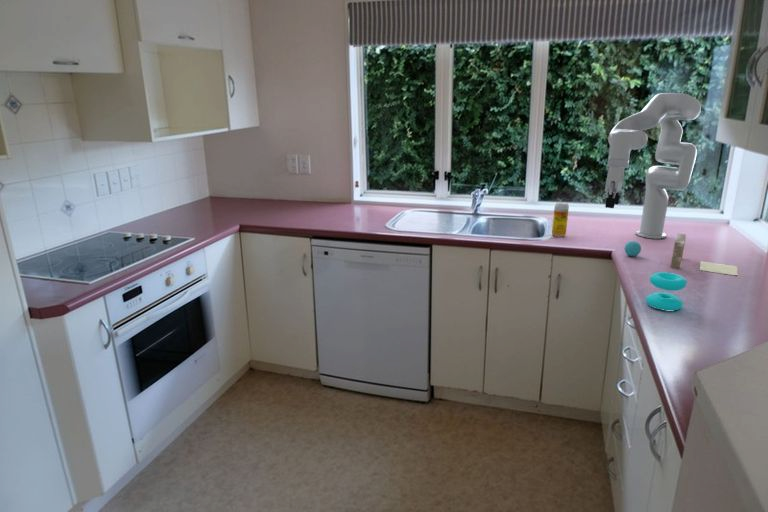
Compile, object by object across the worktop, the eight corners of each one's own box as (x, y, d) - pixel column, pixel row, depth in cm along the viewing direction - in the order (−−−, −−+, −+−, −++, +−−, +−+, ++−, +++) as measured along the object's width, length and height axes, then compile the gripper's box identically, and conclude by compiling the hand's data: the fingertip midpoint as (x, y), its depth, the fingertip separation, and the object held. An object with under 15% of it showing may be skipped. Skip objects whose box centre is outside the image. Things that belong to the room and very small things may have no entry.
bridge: (670, 267, 201) (674, 242, 198) (673, 256, 213) (677, 233, 210) (679, 268, 199) (683, 243, 196) (682, 257, 212) (686, 234, 209)
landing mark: (700, 261, 207) (700, 261, 207) (737, 266, 201) (737, 266, 201) (699, 270, 197) (699, 269, 197) (737, 276, 191) (737, 275, 191)
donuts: (680, 271, 166) (692, 283, 156) (675, 301, 169) (686, 314, 159) (646, 270, 167) (656, 280, 158) (641, 299, 170) (651, 311, 161)
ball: (624, 252, 218) (626, 238, 216) (640, 255, 215) (643, 240, 213) (622, 256, 213) (624, 242, 211) (638, 259, 210) (641, 244, 208)
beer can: (556, 237, 240) (560, 205, 235) (549, 234, 246) (552, 202, 241) (568, 236, 242) (571, 204, 237) (560, 233, 247) (564, 201, 243)
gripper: (612, 160, 217) (606, 201, 222) (603, 164, 203) (597, 208, 208) (631, 161, 213) (625, 203, 218) (624, 165, 199) (617, 210, 204)
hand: (611, 205), depth 213 cm, fingers open, 9 cm apart
